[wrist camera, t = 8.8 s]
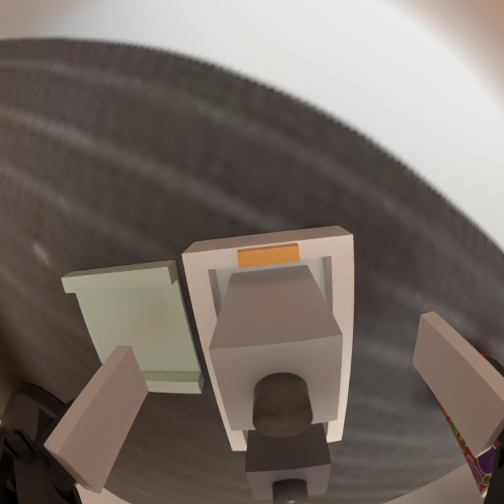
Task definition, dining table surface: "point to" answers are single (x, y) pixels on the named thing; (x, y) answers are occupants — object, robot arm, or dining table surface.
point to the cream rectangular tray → (342, 307)
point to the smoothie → (479, 464)
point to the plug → (277, 352)
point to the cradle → (141, 321)
